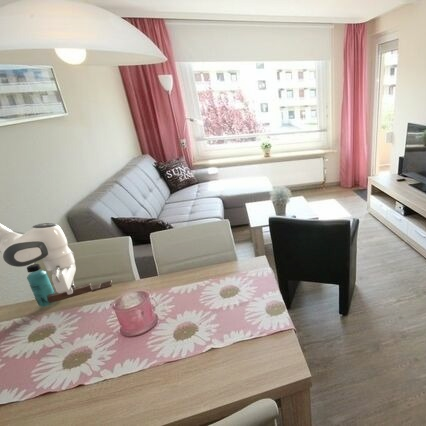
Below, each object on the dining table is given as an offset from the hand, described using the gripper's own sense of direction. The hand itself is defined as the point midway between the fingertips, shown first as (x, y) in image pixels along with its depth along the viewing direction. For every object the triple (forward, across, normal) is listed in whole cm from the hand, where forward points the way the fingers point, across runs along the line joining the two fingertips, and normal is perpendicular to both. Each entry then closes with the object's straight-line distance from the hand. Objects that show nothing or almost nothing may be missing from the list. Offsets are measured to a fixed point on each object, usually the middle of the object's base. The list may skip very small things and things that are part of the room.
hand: (71, 291), depth 121 cm
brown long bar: (+2, 0, -3) cm, 4 cm away
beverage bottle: (+10, +14, +12) cm, 21 cm away
